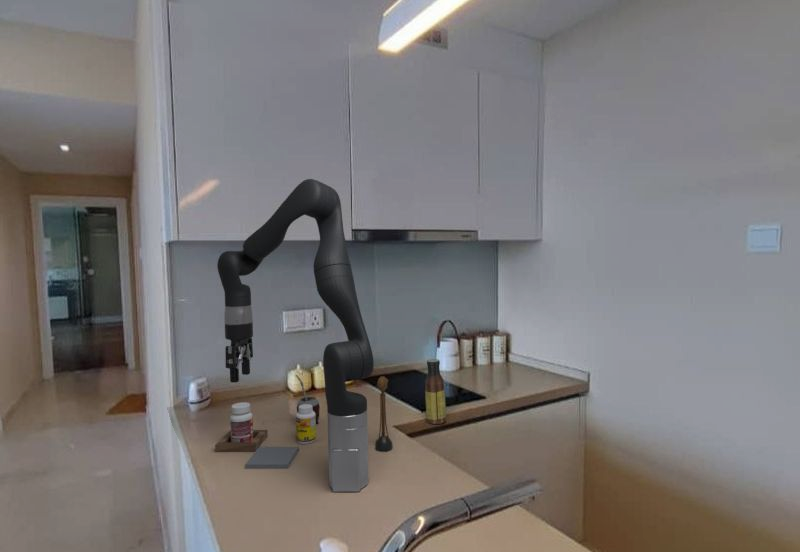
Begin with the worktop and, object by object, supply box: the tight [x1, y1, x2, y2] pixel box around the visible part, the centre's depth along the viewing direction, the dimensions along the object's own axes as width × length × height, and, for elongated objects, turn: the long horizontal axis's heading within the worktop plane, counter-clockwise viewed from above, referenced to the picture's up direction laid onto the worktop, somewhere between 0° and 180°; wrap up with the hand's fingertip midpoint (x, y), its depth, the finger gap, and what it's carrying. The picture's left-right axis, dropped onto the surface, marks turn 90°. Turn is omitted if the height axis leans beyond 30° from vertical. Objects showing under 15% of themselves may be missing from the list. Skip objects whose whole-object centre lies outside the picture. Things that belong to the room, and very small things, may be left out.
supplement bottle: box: [295, 404, 317, 445], centre depth 135 cm, size 6×6×10 cm
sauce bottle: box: [424, 358, 447, 425], centre depth 148 cm, size 6×6×20 cm
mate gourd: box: [295, 374, 320, 425], centre depth 149 cm, size 8×8×15 cm
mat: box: [244, 446, 300, 469], centre depth 123 cm, size 11×11×1 cm
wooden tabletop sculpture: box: [374, 376, 394, 453], centre depth 129 cm, size 6×5×20 cm
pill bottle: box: [229, 401, 254, 442], centre depth 133 cm, size 6×6×11 cm
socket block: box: [214, 429, 268, 453], centre depth 133 cm, size 11×11×2 cm
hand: (240, 378), depth 133 cm, fingers open, 8 cm apart
